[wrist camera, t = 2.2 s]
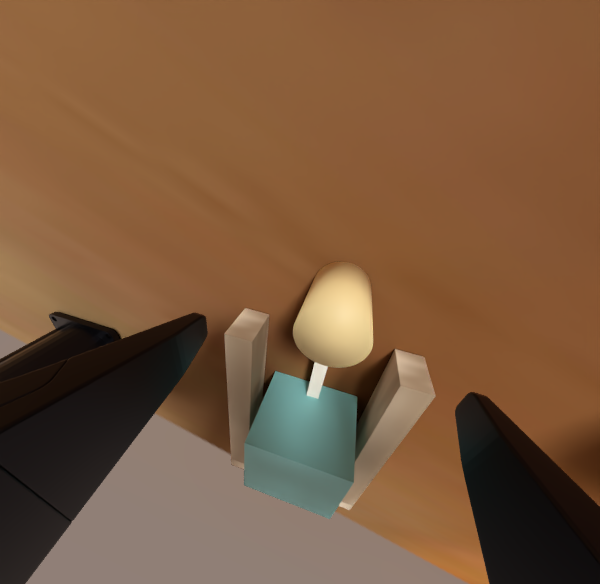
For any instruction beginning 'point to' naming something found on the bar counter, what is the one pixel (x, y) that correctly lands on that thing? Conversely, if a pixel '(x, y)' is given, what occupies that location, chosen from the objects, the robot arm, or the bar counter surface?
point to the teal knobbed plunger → (314, 399)
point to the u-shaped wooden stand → (373, 423)
